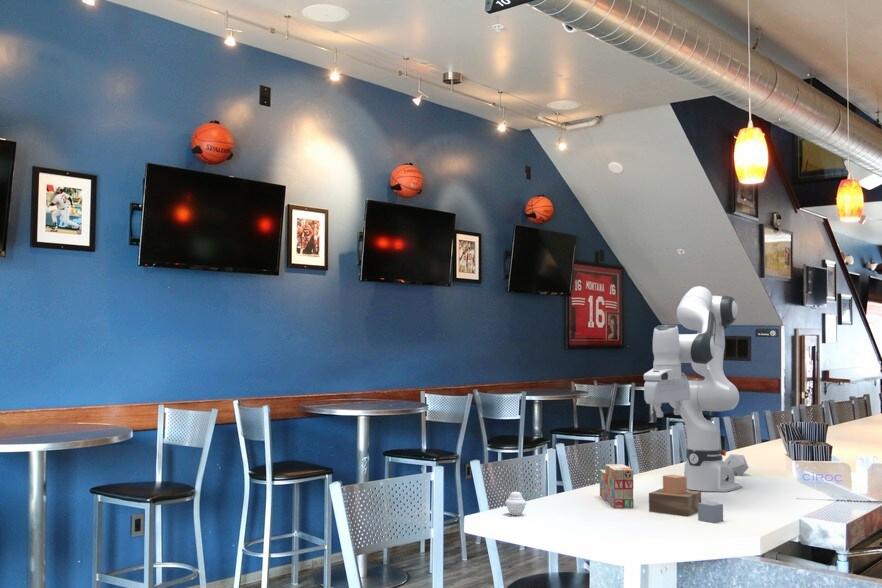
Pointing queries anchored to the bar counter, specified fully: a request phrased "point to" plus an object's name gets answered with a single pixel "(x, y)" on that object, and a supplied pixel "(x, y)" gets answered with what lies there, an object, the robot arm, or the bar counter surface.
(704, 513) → the grey cube
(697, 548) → the bar counter surface
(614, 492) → the stack of blocks
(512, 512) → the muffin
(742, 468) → the die
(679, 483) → the rust cube
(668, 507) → the walnut block
